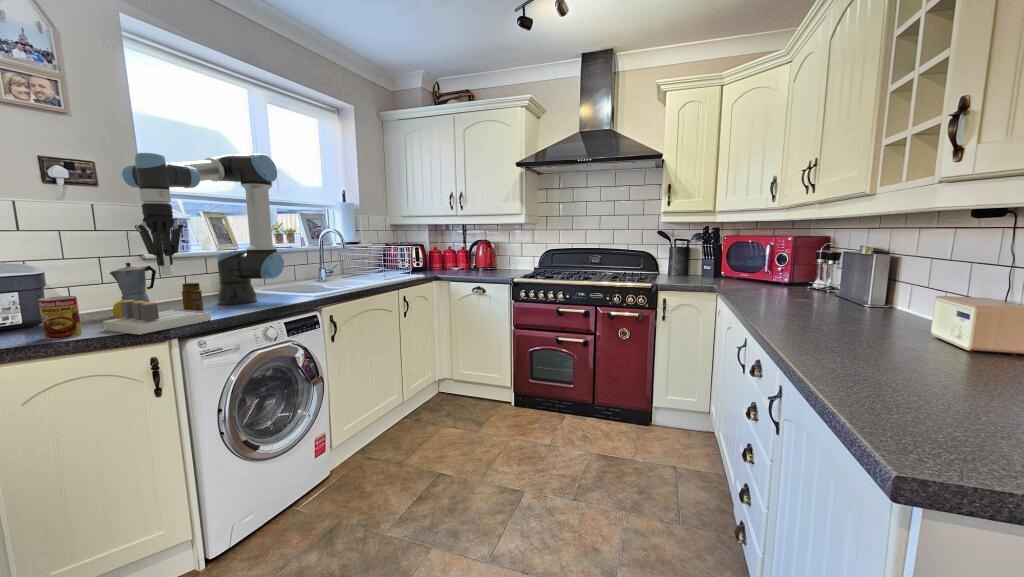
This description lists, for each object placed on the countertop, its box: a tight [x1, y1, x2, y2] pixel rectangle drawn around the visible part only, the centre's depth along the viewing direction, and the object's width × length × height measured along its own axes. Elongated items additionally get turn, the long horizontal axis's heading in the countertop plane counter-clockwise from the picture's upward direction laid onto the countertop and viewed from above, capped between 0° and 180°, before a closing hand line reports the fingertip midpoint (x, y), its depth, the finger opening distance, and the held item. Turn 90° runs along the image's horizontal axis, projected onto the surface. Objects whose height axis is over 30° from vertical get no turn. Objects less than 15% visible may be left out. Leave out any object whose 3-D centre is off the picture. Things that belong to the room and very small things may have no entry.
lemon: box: [112, 299, 125, 319], centre depth 147 cm, size 6×6×8 cm
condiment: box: [181, 282, 204, 311], centre depth 161 cm, size 7×8×12 cm
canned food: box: [37, 295, 83, 340], centre depth 127 cm, size 8×8×12 cm
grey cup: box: [132, 301, 147, 319], centre depth 137 cm, size 3×3×6 cm
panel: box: [103, 308, 212, 336], centre depth 142 cm, size 22×18×3 cm
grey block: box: [140, 301, 159, 321], centre depth 134 cm, size 3×3×6 cm
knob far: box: [121, 300, 136, 318], centre depth 139 cm, size 3×3×6 cm
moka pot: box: [108, 262, 157, 302], centre depth 165 cm, size 10×15×20 cm, turn 166°
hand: (166, 275), depth 138 cm, fingers closed
